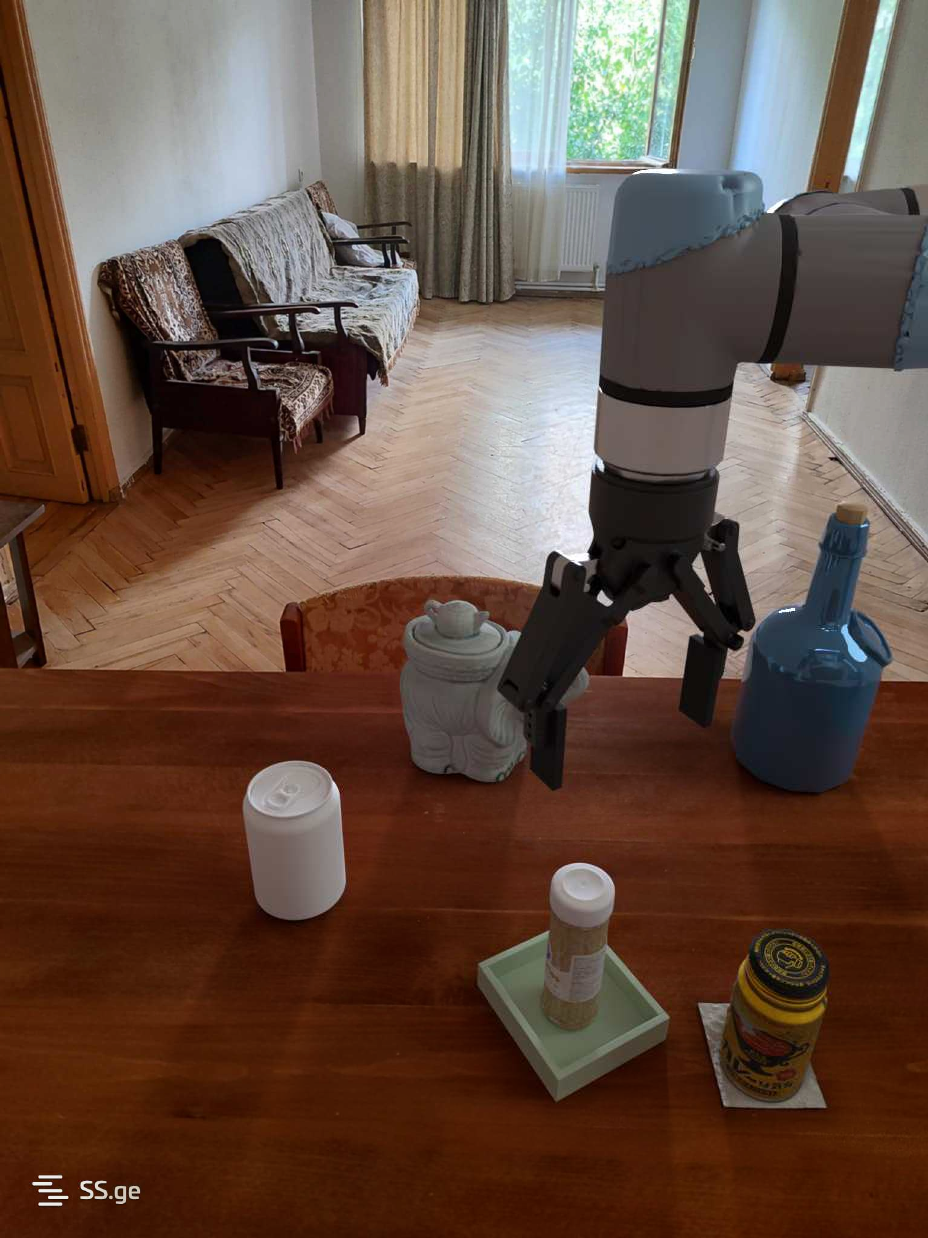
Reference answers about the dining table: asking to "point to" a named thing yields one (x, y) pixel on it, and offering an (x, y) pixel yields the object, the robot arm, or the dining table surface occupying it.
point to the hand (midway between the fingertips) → (623, 747)
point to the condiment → (770, 1024)
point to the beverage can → (295, 840)
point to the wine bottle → (813, 672)
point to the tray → (561, 1053)
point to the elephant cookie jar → (463, 693)
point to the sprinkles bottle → (576, 944)
